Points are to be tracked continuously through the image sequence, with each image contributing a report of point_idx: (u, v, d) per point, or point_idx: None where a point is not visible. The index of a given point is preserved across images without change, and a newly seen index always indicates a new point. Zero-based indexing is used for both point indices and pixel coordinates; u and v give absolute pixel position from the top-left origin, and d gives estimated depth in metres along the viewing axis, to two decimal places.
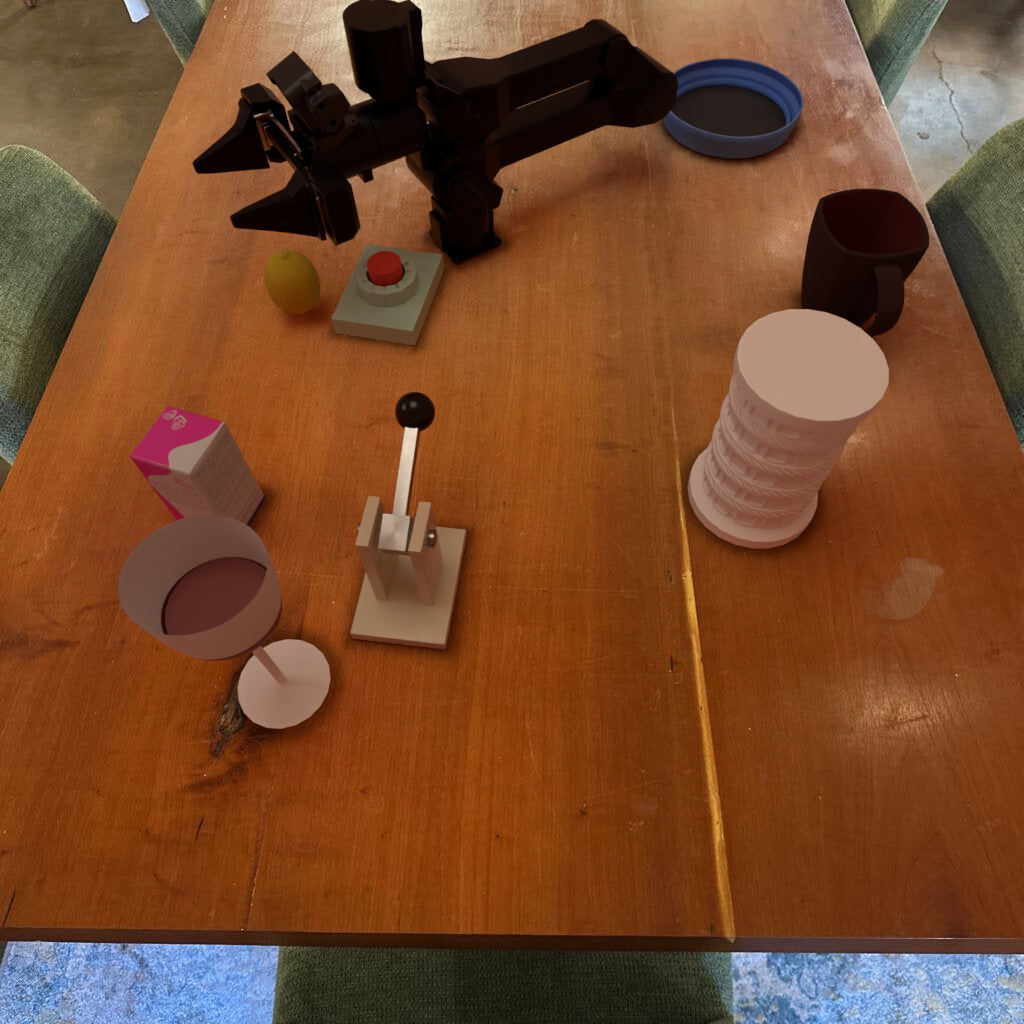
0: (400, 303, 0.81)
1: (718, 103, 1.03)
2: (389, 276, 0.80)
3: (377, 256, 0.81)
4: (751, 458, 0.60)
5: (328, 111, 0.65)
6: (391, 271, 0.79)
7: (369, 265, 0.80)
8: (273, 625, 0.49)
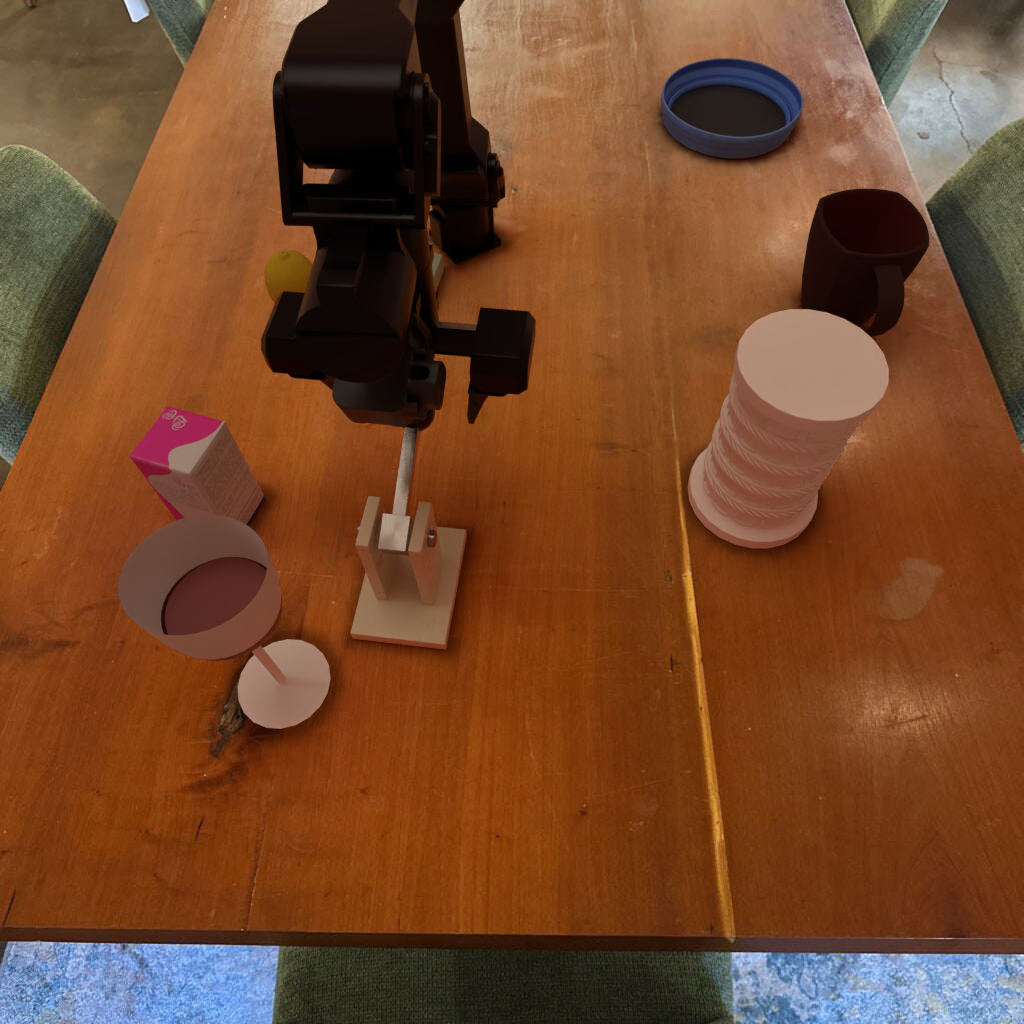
0: None
1: (718, 103, 1.03)
2: None
3: None
4: (751, 458, 0.60)
5: (441, 388, 0.48)
6: None
7: None
8: (273, 625, 0.49)
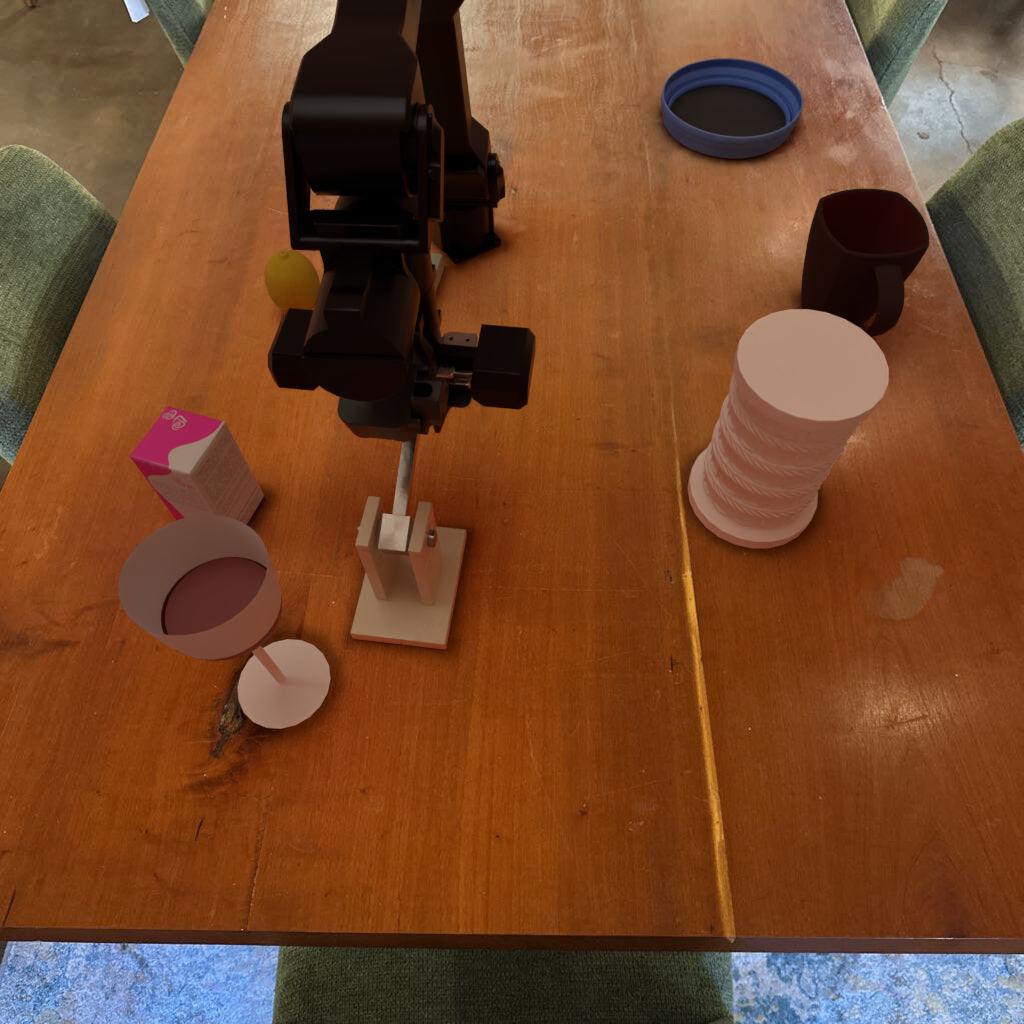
0: None
1: (718, 103, 1.03)
2: None
3: None
4: (751, 458, 0.60)
5: (443, 404, 0.50)
6: None
7: None
8: (273, 625, 0.49)
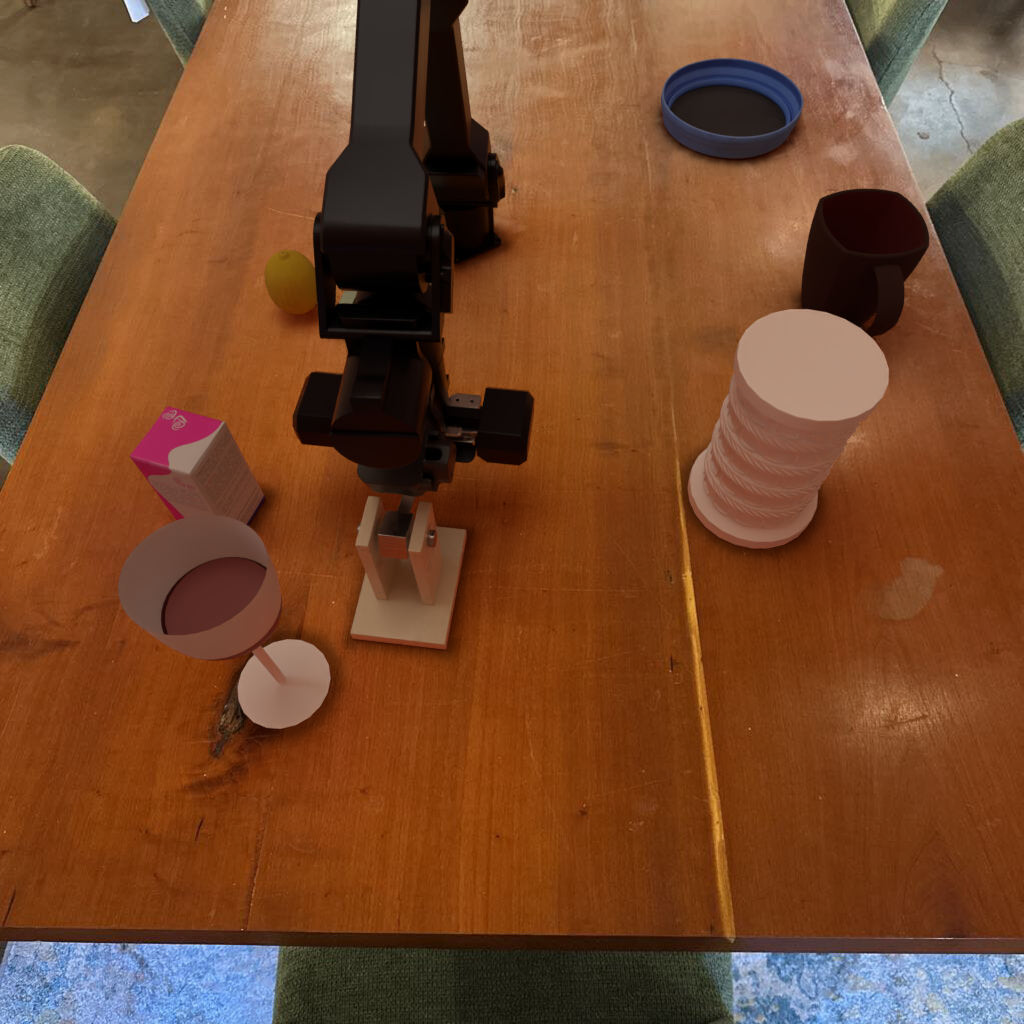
0: None
1: (718, 103, 1.03)
2: None
3: None
4: (751, 458, 0.60)
5: (452, 465, 0.55)
6: None
7: None
8: (273, 625, 0.49)
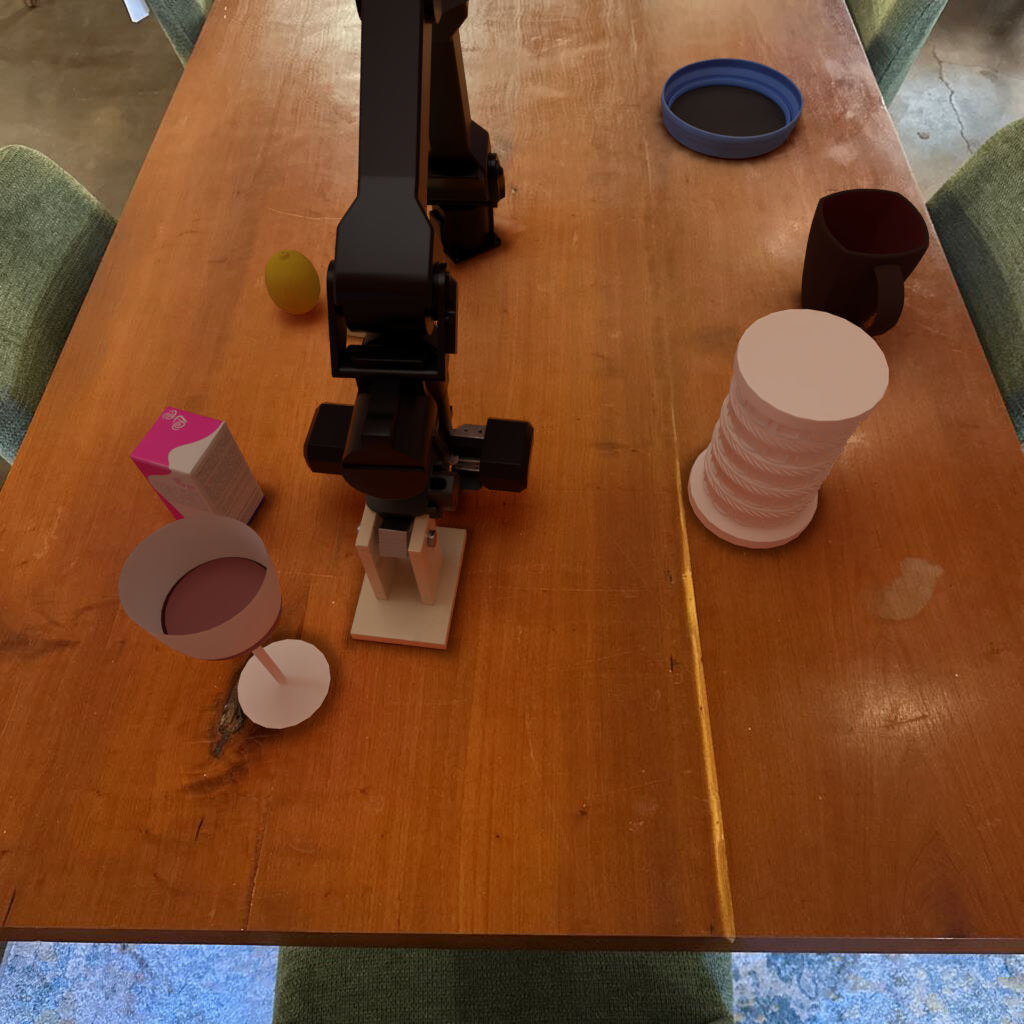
0: None
1: (718, 103, 1.03)
2: None
3: None
4: (751, 458, 0.60)
5: (455, 493, 0.58)
6: None
7: None
8: (273, 625, 0.49)
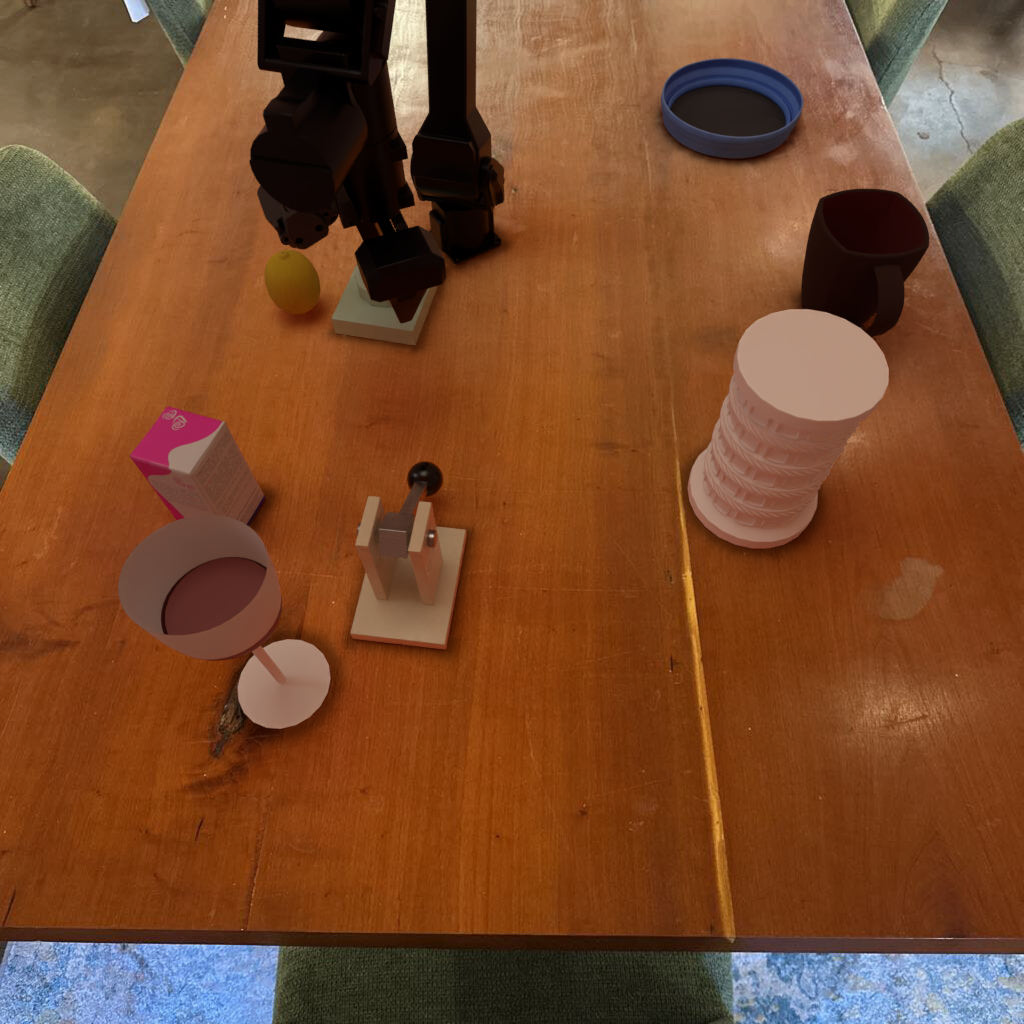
0: None
1: (718, 103, 1.03)
2: None
3: None
4: (751, 458, 0.60)
5: (305, 234, 0.57)
6: None
7: None
8: (273, 625, 0.49)
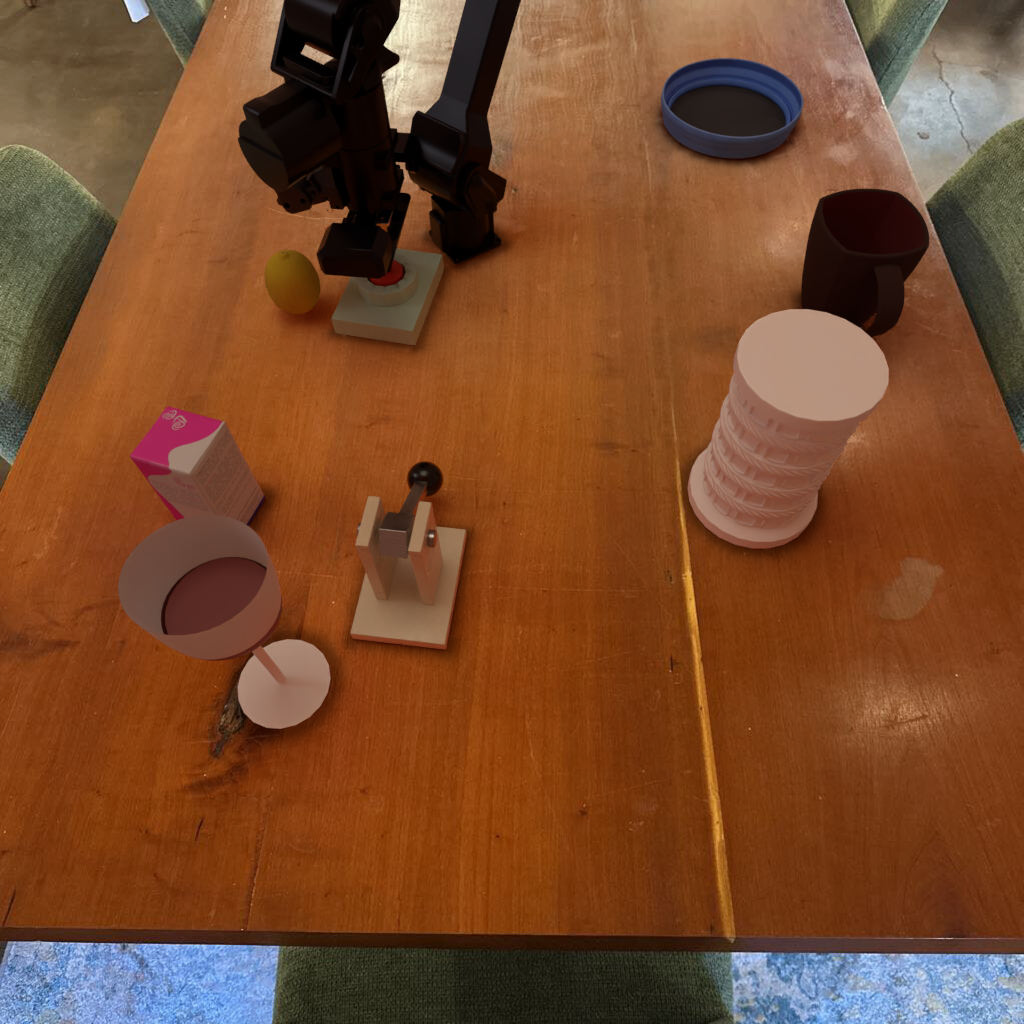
0: (400, 303, 0.81)
1: (718, 103, 1.03)
2: (391, 284, 0.81)
3: None
4: (751, 458, 0.60)
5: (291, 202, 0.70)
6: (392, 279, 0.80)
7: None
8: (273, 625, 0.49)
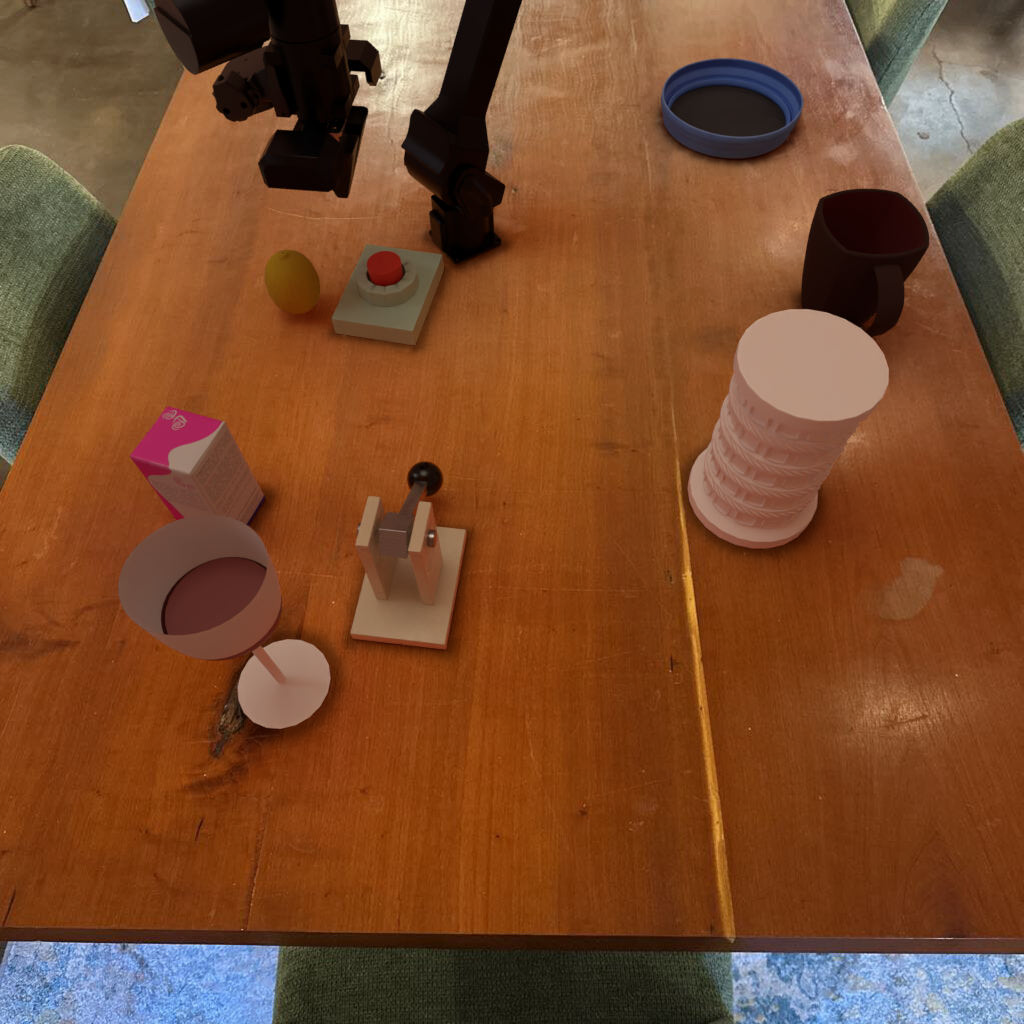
0: (400, 303, 0.81)
1: (718, 103, 1.03)
2: (389, 276, 0.80)
3: (377, 256, 0.81)
4: (751, 458, 0.60)
5: (231, 106, 0.63)
6: (391, 271, 0.79)
7: (369, 265, 0.80)
8: (273, 625, 0.49)
